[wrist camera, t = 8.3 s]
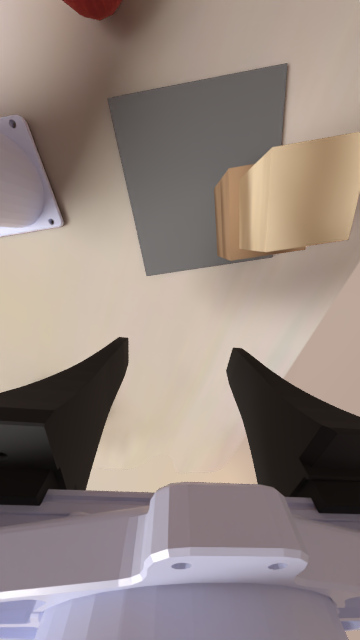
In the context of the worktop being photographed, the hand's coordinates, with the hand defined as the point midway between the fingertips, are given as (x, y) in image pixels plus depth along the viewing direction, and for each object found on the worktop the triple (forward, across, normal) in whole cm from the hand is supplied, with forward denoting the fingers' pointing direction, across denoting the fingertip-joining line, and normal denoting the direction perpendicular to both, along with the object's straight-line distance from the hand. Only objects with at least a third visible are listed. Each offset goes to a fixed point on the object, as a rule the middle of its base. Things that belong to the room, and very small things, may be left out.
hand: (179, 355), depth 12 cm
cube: (+5, -6, -10) cm, 12 cm away
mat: (+10, -1, -12) cm, 16 cm away
